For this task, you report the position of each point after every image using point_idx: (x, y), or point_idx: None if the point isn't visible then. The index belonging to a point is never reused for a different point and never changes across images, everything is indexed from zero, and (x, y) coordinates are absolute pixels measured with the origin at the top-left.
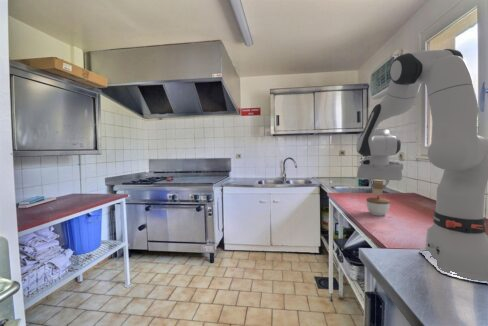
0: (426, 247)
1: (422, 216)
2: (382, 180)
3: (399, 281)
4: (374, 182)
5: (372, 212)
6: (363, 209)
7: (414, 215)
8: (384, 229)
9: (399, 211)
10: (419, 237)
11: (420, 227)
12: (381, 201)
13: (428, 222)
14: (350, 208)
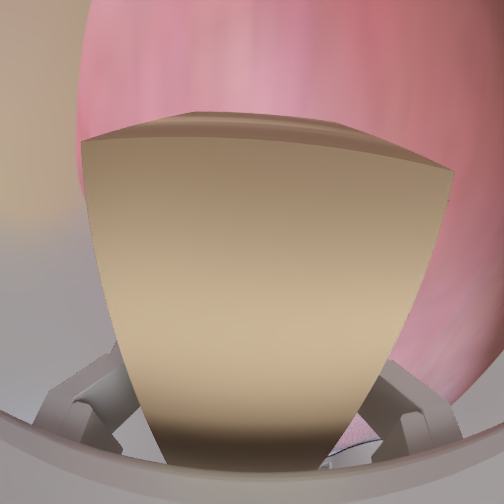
0: (329, 466)
1: (497, 151)
2: (383, 332)
3: None
4: None
5: None
6: (160, 95)
7: (472, 139)
8: None
9: (415, 54)
10: (355, 415)
11: (409, 342)
12: None
13: (475, 259)
14: (80, 120)
